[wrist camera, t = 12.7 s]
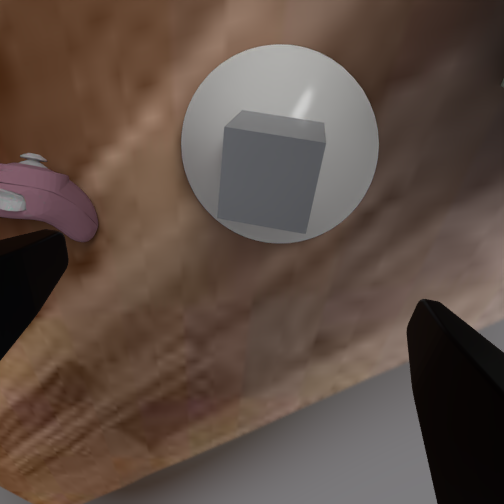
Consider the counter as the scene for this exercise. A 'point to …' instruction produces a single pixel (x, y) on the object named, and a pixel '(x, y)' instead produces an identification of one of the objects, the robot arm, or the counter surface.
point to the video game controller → (46, 198)
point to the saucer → (289, 105)
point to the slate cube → (270, 170)
